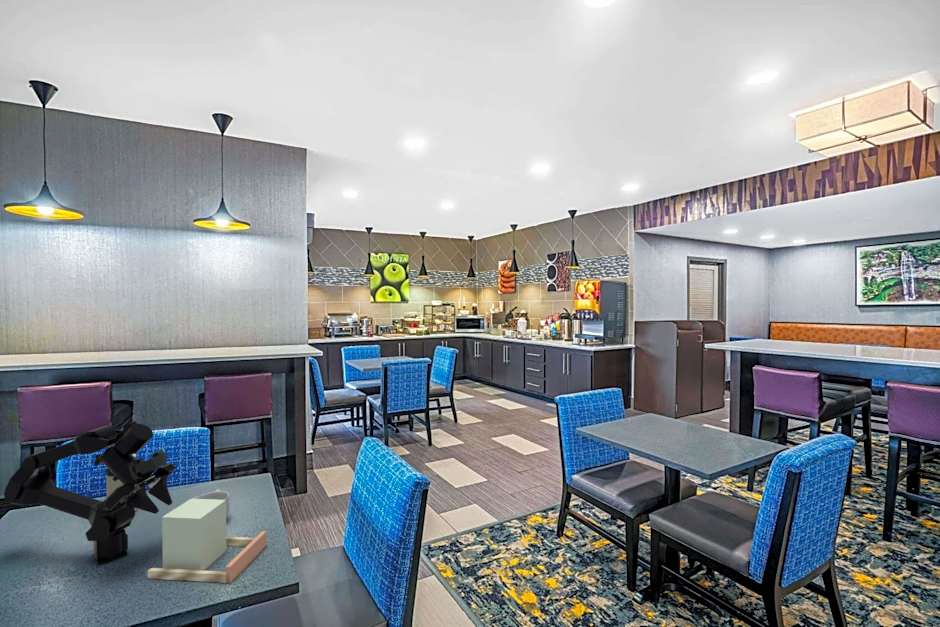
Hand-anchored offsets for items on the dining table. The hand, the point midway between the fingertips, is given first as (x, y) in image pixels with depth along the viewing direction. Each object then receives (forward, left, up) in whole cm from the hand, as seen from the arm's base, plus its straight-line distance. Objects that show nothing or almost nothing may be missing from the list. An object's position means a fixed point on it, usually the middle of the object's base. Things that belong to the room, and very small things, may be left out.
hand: (164, 508), depth 123 cm
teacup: (+17, +13, -14) cm, 25 cm away
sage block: (+5, -7, -14) cm, 16 cm away
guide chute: (+7, -10, -14) cm, 19 cm away
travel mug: (+1, +41, -14) cm, 43 cm away
